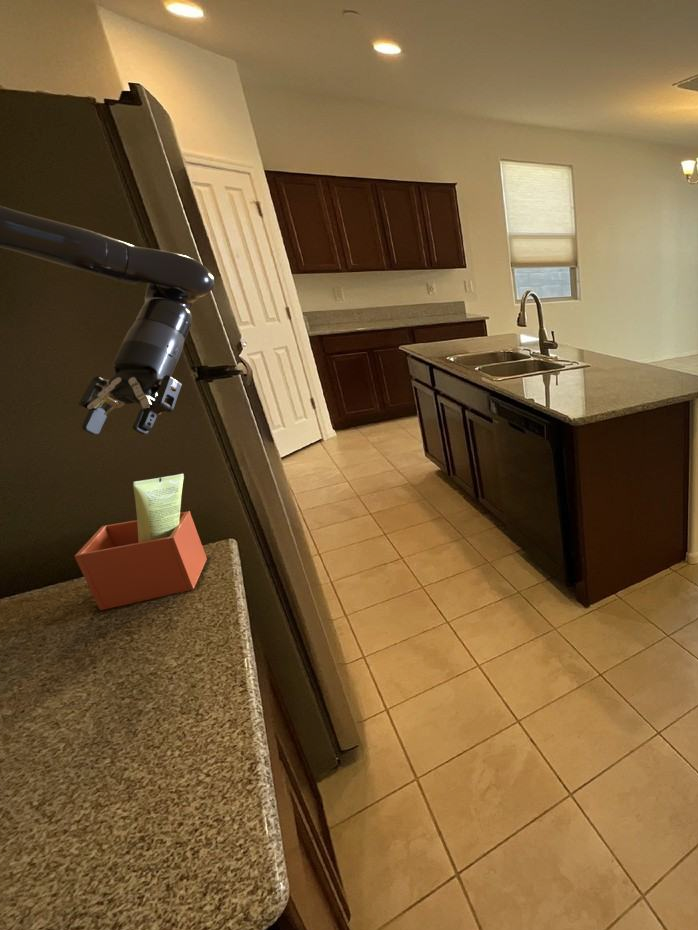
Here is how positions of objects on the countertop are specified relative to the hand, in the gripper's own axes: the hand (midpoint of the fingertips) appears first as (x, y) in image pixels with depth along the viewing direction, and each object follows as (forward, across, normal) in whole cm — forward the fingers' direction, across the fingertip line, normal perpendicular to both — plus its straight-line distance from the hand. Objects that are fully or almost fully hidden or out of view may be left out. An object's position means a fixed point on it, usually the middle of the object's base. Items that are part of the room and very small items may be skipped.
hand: (114, 432), depth 87 cm
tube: (+21, 0, +17) cm, 27 cm away
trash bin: (+22, 0, +18) cm, 28 cm away
